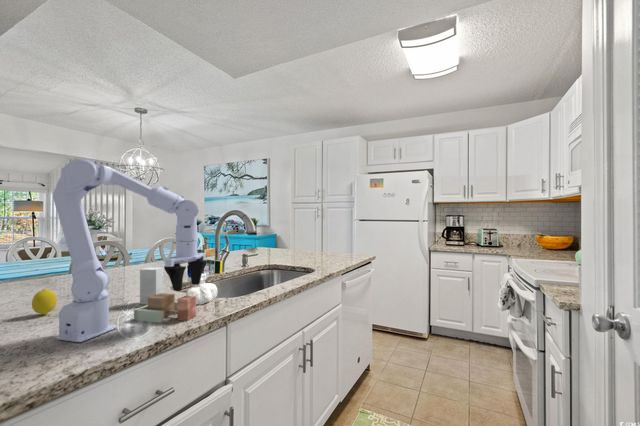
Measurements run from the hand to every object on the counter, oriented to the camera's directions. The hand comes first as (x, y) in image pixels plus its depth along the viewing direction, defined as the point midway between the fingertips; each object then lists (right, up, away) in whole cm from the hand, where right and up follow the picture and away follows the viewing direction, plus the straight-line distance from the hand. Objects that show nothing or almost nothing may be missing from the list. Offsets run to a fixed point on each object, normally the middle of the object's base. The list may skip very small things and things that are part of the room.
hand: (187, 287), depth 84 cm
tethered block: (-5, -9, +1) cm, 10 cm away
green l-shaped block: (-9, -9, +2) cm, 13 cm away
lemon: (-45, -10, +3) cm, 46 cm away
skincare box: (-19, -10, +15) cm, 26 cm away
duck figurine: (-3, -10, +16) cm, 19 cm away
